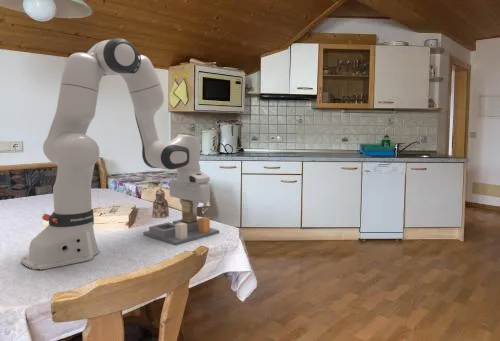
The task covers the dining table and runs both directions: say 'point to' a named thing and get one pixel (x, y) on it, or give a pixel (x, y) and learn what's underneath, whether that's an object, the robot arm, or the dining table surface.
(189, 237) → the socket board
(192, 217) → the wood plug
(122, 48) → the robot arm
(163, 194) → the figurine
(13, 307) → the dining table surface
